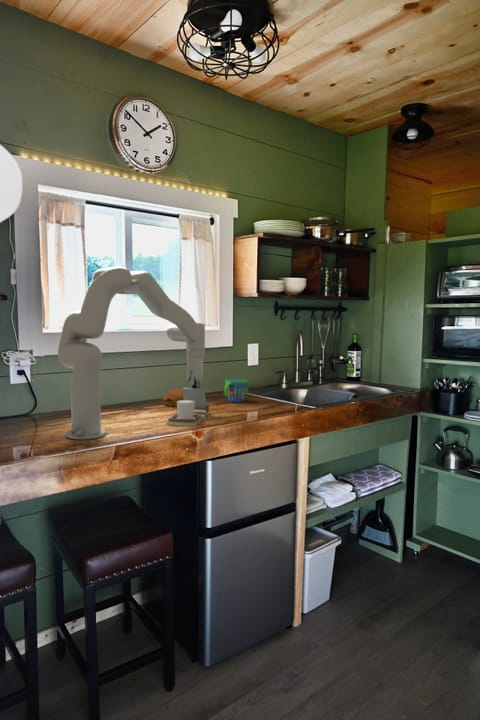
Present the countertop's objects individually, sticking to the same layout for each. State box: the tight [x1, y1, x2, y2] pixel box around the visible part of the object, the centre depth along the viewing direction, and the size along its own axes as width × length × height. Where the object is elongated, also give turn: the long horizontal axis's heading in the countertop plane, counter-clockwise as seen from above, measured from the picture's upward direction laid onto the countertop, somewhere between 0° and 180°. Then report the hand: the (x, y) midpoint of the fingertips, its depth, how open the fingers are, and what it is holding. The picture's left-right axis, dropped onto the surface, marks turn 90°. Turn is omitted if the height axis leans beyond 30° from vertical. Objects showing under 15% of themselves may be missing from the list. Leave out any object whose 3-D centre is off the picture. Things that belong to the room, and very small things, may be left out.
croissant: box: [162, 388, 184, 408], centre depth 226 cm, size 14×16×8 cm
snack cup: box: [223, 378, 249, 403], centre depth 234 cm, size 16×10×10 cm
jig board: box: [166, 404, 210, 427], centre depth 195 cm, size 22×11×4 cm, turn 170°
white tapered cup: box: [177, 400, 195, 420], centre depth 189 cm, size 7×7×7 cm
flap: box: [182, 387, 207, 411], centre depth 203 cm, size 10×9×1 cm
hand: (195, 397), depth 204 cm, fingers closed
